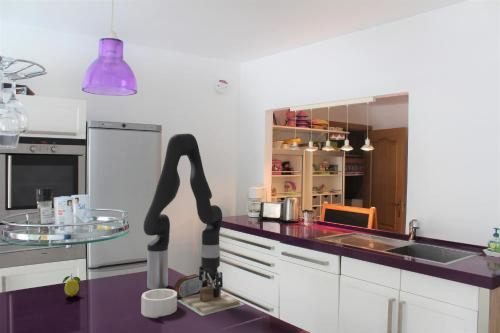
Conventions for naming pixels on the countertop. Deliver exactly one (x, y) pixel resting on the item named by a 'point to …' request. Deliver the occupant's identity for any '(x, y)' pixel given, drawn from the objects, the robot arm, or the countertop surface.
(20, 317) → the countertop surface
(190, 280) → the tin
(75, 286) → the lemon
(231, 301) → the cover board
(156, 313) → the bowl
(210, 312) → the mat
